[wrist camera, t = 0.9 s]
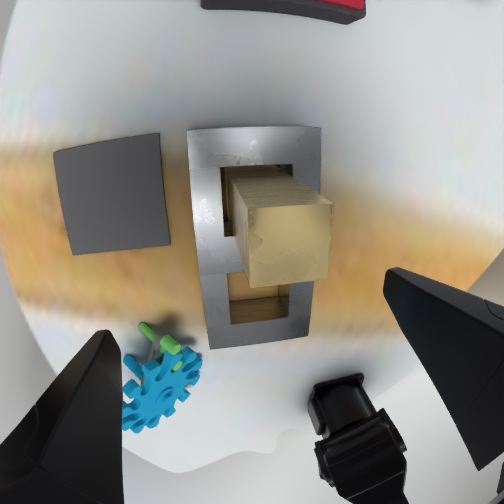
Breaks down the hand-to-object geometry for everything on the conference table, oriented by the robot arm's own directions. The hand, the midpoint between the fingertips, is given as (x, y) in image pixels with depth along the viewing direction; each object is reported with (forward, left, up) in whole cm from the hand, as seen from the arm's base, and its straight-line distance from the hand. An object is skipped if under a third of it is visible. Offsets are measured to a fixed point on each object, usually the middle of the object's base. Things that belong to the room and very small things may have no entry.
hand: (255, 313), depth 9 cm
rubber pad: (+8, -1, -13) cm, 16 cm away
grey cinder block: (-2, +3, -13) cm, 14 cm away
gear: (+7, +15, -14) cm, 21 cm away
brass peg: (-2, 0, -13) cm, 14 cm away
